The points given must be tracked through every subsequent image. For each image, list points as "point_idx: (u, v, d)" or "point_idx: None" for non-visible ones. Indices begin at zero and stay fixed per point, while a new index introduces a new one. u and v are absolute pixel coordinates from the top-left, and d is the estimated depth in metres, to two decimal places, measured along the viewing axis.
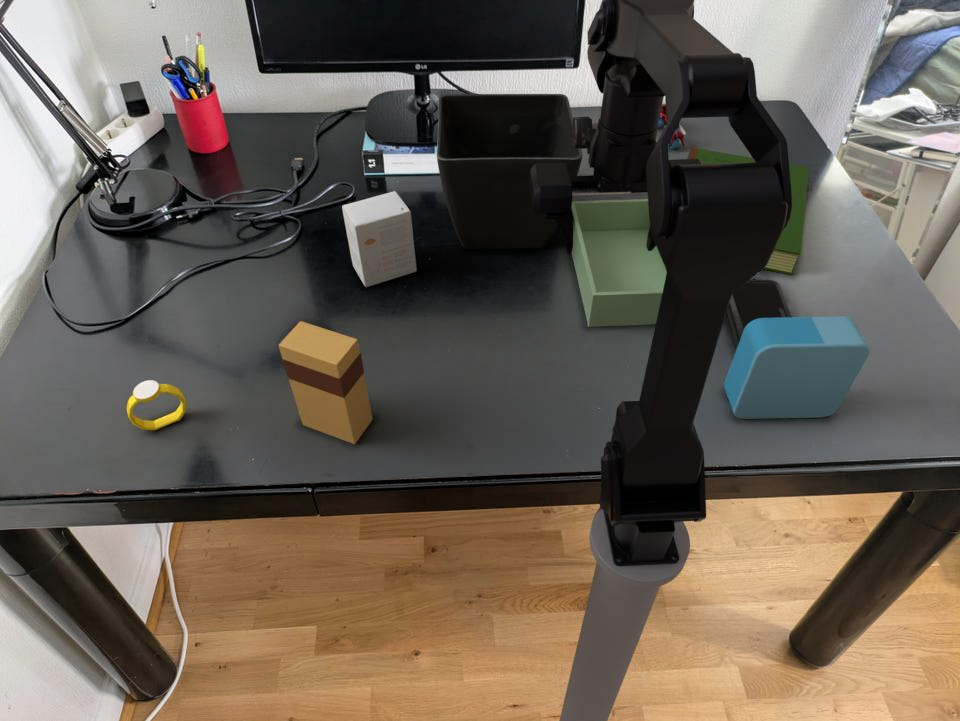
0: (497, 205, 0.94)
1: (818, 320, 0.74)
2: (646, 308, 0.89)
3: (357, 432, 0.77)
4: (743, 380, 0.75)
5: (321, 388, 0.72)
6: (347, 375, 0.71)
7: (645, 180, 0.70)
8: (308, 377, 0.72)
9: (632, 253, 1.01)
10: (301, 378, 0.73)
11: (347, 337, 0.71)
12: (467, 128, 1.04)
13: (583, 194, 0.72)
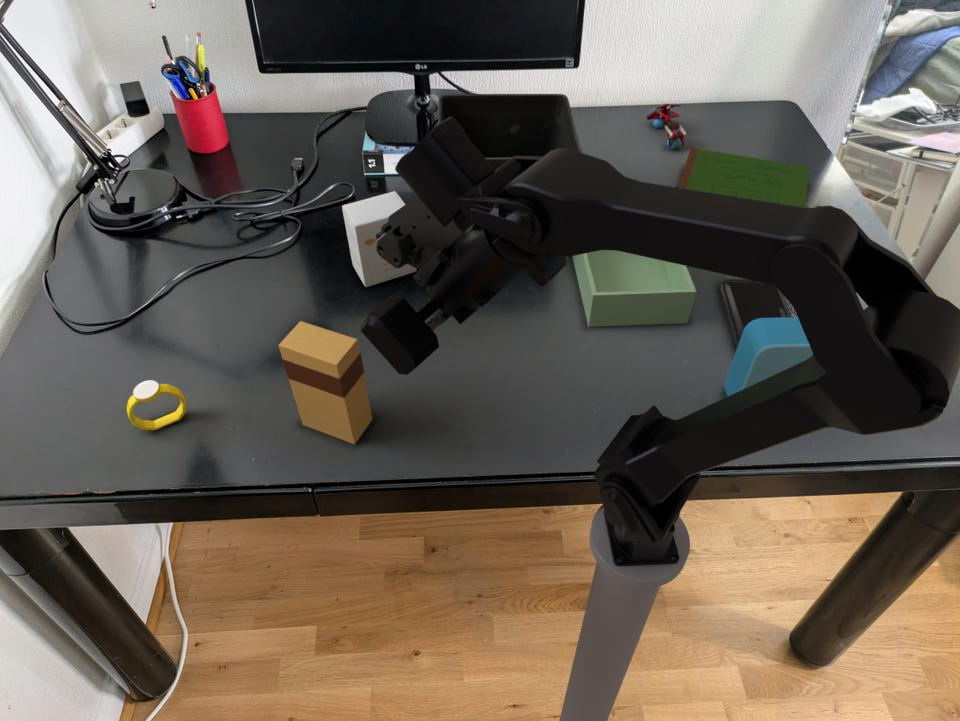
0: None
1: None
2: (646, 308, 0.89)
3: (357, 432, 0.77)
4: (743, 380, 0.75)
5: (321, 388, 0.72)
6: (347, 375, 0.71)
7: None
8: (308, 377, 0.72)
9: None
10: (301, 378, 0.73)
11: (347, 337, 0.71)
12: (467, 128, 1.04)
13: None
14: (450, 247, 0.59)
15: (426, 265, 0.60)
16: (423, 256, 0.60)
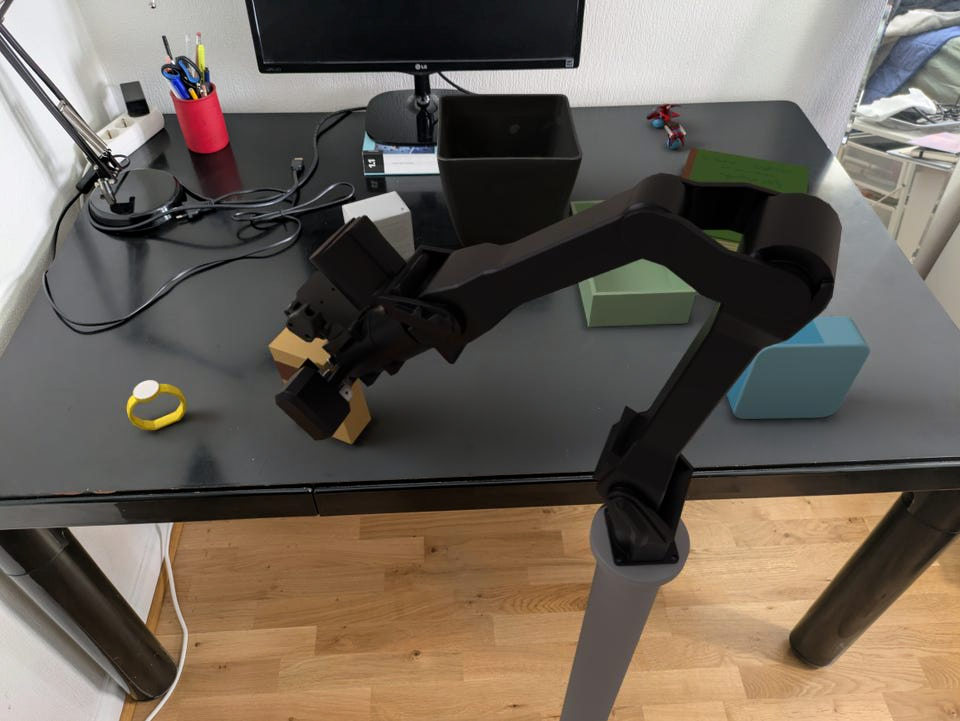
0: (497, 205, 0.94)
1: (818, 320, 0.74)
2: (646, 308, 0.89)
3: (353, 432, 0.77)
4: (743, 380, 0.75)
5: None
6: None
7: None
8: None
9: None
10: None
11: None
12: (467, 128, 1.04)
13: (346, 393, 0.67)
14: (360, 323, 0.63)
15: (336, 339, 0.64)
16: (333, 330, 0.64)
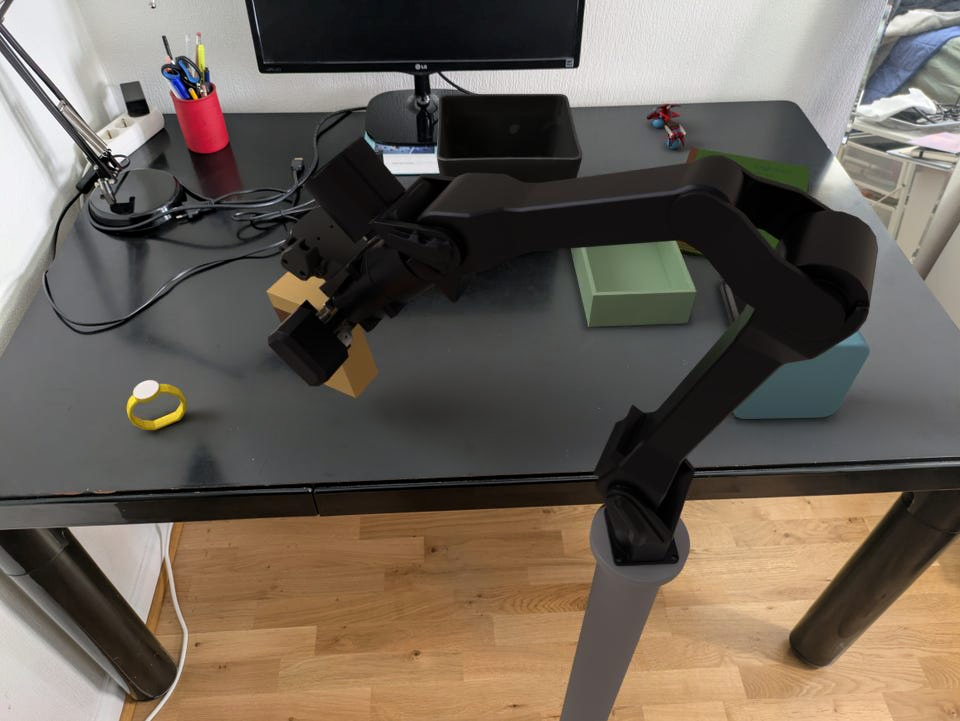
0: None
1: None
2: (646, 308, 0.89)
3: (358, 385, 0.73)
4: None
5: None
6: None
7: None
8: None
9: (632, 253, 1.01)
10: None
11: None
12: (467, 128, 1.04)
13: None
14: (358, 260, 0.59)
15: (333, 277, 0.60)
16: (330, 268, 0.60)
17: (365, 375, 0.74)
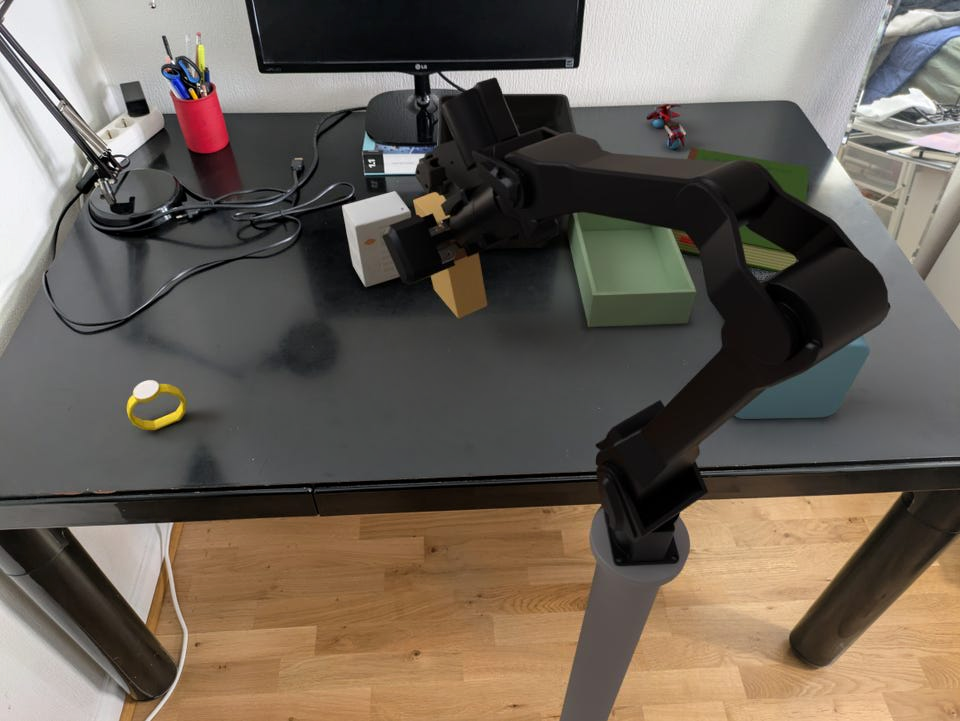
0: None
1: None
2: (646, 308, 0.89)
3: (463, 308, 0.82)
4: None
5: None
6: None
7: None
8: None
9: (632, 253, 1.01)
10: None
11: None
12: None
13: (447, 255, 0.72)
14: (472, 189, 0.67)
15: (450, 198, 0.68)
16: (451, 190, 0.69)
17: (472, 302, 0.82)
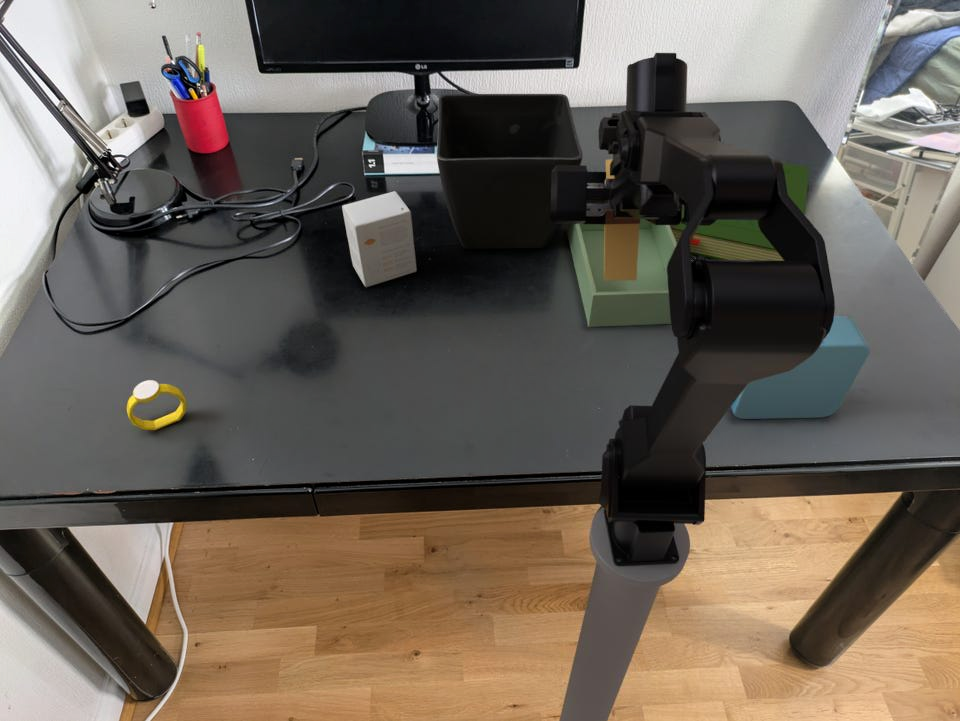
0: (497, 205, 0.94)
1: None
2: (646, 308, 0.89)
3: (611, 272, 0.86)
4: None
5: None
6: None
7: None
8: None
9: None
10: None
11: None
12: (467, 128, 1.04)
13: (597, 210, 0.77)
14: None
15: (614, 158, 0.74)
16: (618, 151, 0.74)
17: (622, 270, 0.86)
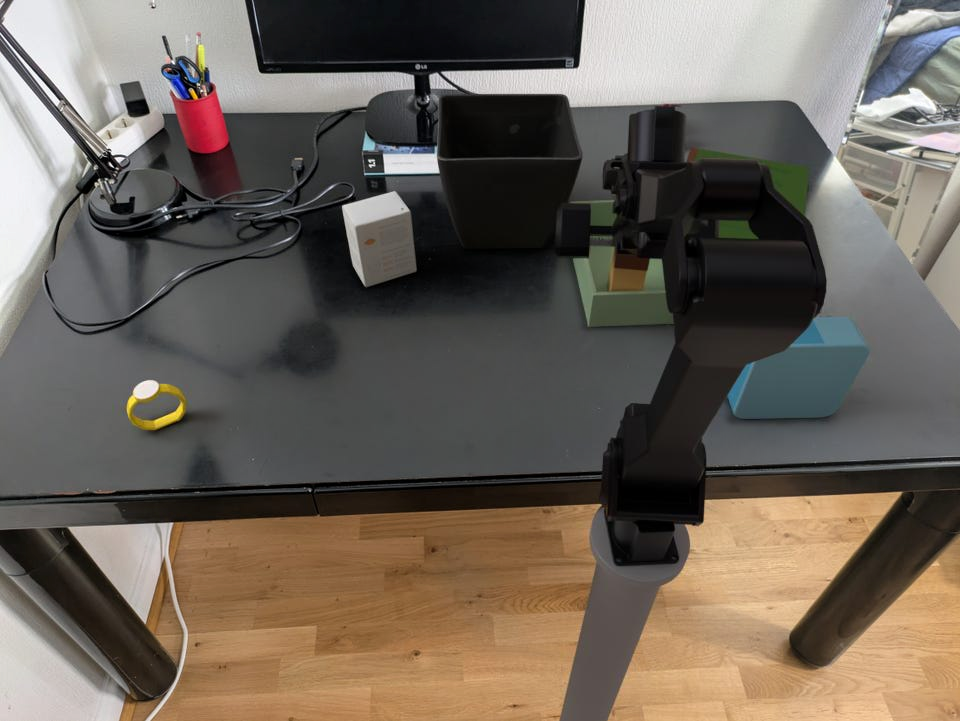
0: (497, 205, 0.94)
1: (818, 320, 0.74)
2: (646, 308, 0.89)
3: None
4: (743, 380, 0.75)
5: (614, 253, 0.87)
6: None
7: None
8: None
9: None
10: None
11: None
12: (467, 128, 1.04)
13: None
14: None
15: (617, 199, 0.77)
16: None
17: None
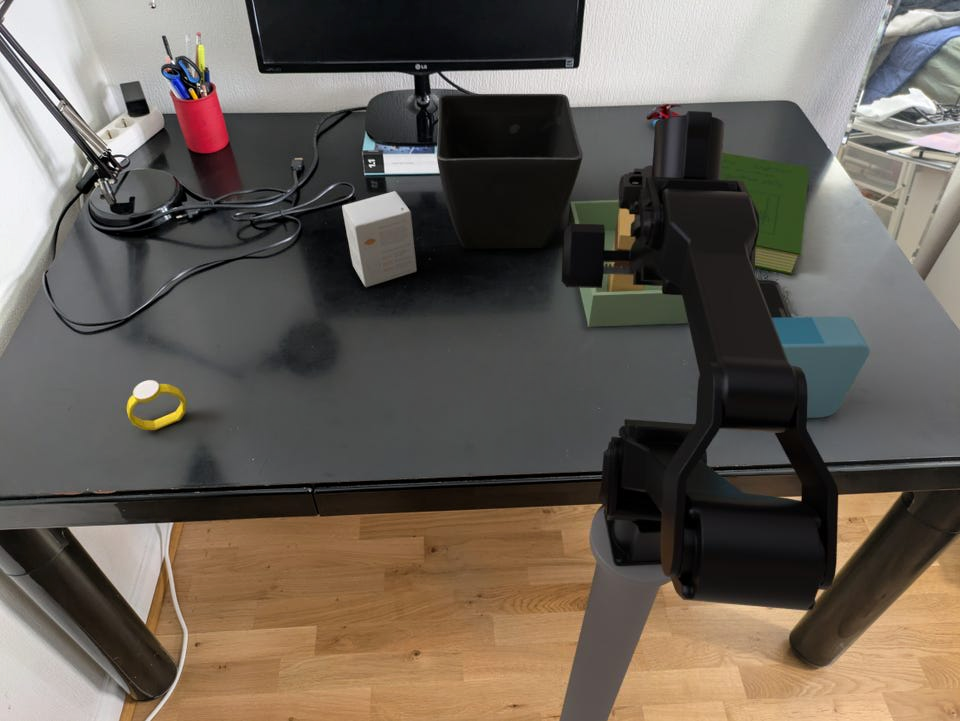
0: (497, 205, 0.94)
1: (818, 320, 0.74)
2: (646, 308, 0.89)
3: None
4: None
5: None
6: None
7: None
8: (615, 239, 0.88)
9: None
10: (615, 238, 0.89)
11: None
12: (467, 128, 1.04)
13: None
14: None
15: (636, 220, 0.65)
16: None
17: None
